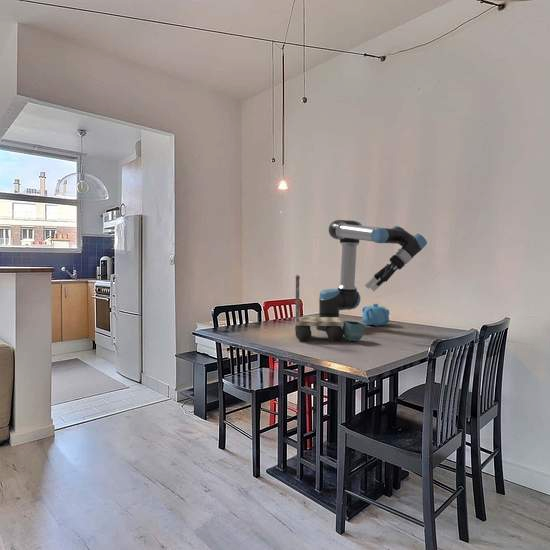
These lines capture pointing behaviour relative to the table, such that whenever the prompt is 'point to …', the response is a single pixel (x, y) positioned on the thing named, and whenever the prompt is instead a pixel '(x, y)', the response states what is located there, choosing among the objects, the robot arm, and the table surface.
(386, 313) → the decorative pot
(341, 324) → the trolley
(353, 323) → the flower pot
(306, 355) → the table surface
